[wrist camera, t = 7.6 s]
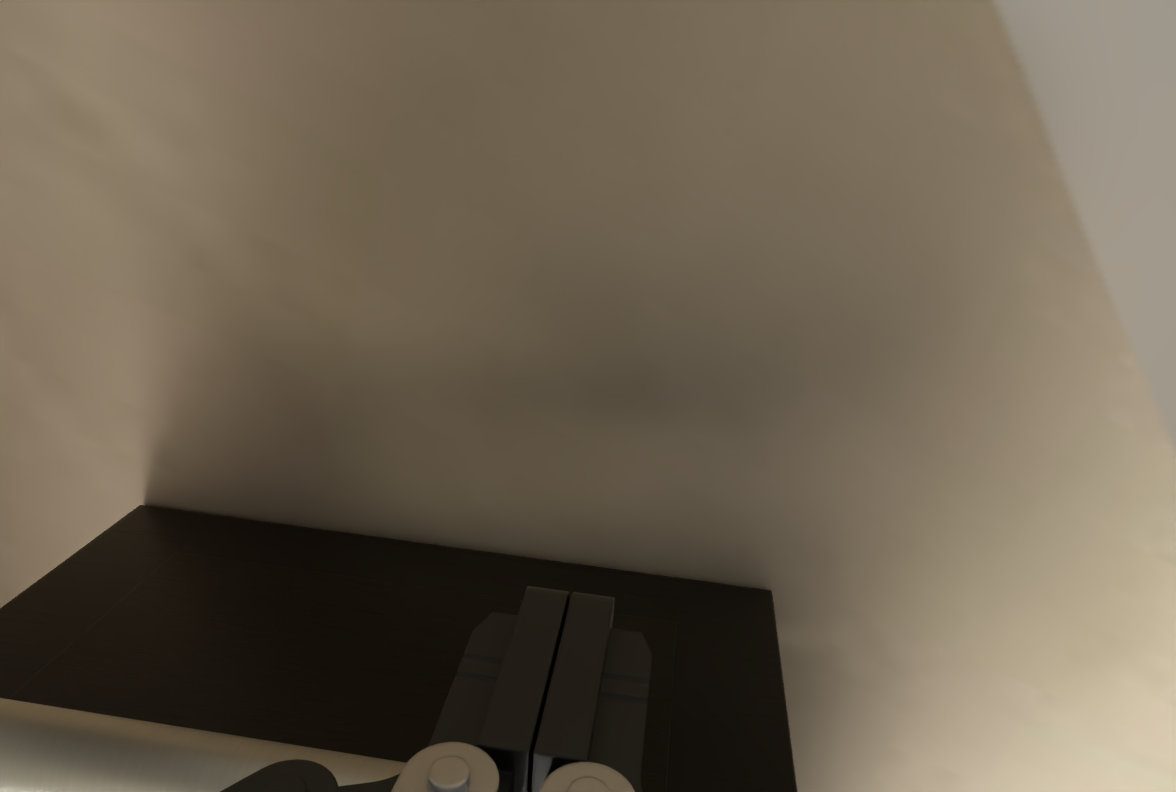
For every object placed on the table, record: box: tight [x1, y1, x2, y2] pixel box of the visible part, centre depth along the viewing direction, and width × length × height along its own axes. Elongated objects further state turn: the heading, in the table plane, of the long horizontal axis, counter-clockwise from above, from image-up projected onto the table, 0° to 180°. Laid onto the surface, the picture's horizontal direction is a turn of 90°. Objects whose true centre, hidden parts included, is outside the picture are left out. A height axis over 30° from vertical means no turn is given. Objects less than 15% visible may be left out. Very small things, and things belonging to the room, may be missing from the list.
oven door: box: [0, 505, 797, 792], centre depth 20 cm, size 5×20×16 cm, turn 86°
